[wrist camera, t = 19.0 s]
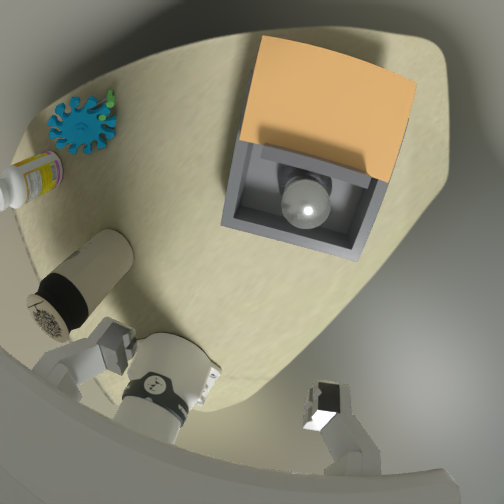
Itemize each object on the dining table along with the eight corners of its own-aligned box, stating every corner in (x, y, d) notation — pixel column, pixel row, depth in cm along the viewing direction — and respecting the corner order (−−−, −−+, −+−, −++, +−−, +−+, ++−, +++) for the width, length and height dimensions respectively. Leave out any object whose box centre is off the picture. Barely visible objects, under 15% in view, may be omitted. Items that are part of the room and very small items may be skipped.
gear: (79, 167, 34) (32, 132, 25) (84, 140, 36) (43, 106, 27) (137, 130, 32) (91, 82, 23) (138, 104, 34) (99, 60, 25)
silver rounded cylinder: (337, 165, 29) (348, 184, 23) (322, 212, 32) (327, 244, 26) (285, 151, 30) (280, 165, 23) (274, 199, 33) (265, 227, 26)
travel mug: (142, 267, 43) (79, 346, 27) (108, 273, 45) (48, 342, 29) (122, 223, 39) (43, 292, 24) (89, 233, 41) (17, 295, 26)
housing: (351, 242, 35) (357, 261, 30) (230, 209, 35) (220, 225, 31) (393, 115, 26) (409, 118, 22) (258, 75, 27) (251, 70, 22)
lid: (383, 188, 26) (391, 197, 23) (239, 147, 26) (232, 152, 24) (414, 83, 20) (425, 82, 17) (263, 37, 20) (259, 29, 18)
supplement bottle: (37, 168, 37) (-17, 195, 26) (50, 142, 34) (-9, 164, 23) (55, 194, 39) (2, 226, 28) (69, 169, 36) (10, 198, 25)
